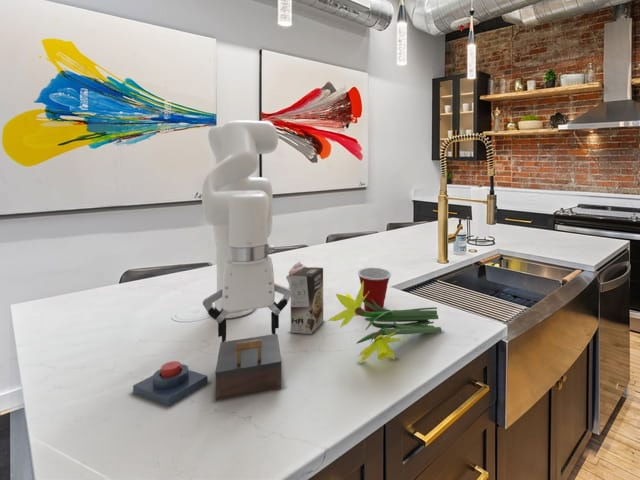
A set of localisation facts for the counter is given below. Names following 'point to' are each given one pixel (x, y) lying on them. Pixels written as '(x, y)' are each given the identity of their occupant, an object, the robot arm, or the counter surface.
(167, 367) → the red push button
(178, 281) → the counter surface
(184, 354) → the counter surface
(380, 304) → the plastic cup
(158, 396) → the blue button base
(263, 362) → the dark slab with handle
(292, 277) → the coffee box
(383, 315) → the daffodil flowers
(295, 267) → the cupcake
